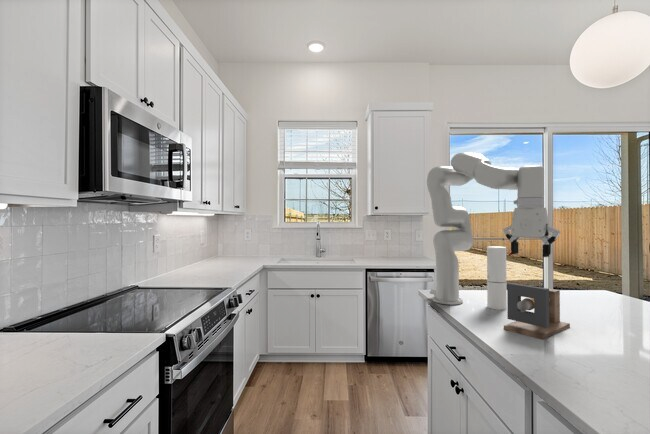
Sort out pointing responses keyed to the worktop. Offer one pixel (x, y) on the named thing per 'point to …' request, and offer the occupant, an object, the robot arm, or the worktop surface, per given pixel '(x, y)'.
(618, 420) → the worktop surface
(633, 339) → the worktop surface
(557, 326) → the pipe mount
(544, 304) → the dark grey square plate
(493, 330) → the worktop surface
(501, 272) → the cylindrical container
